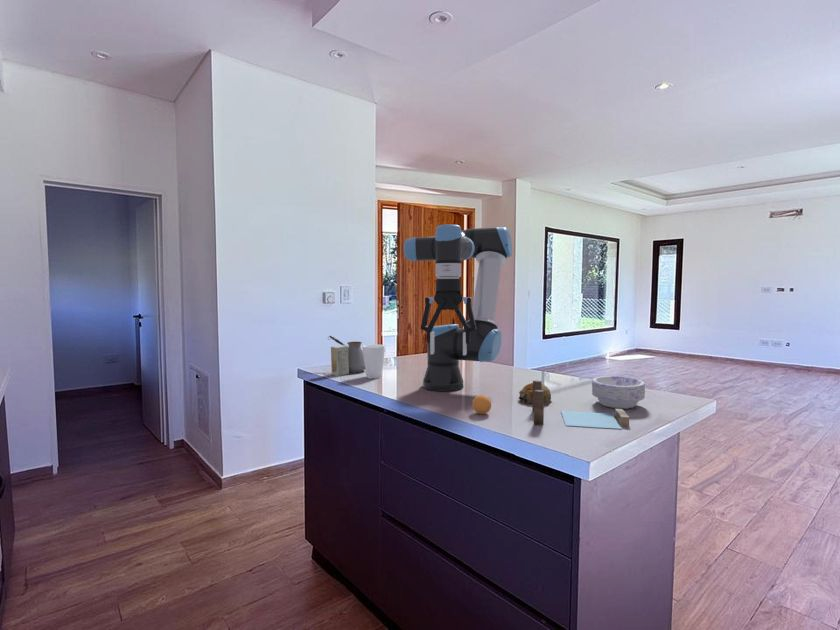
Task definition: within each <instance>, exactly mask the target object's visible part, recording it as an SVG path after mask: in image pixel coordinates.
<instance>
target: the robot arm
mask: <svg viewBox="0 0 840 630" xmlns="http://www.w3.org/2000/svg"><path fill="white" fill-rule="evenodd" d="M434 235H435V236H421V237H415V236H414V237H411V238H410V237H409V238H407V239H406V240H405V241H404V243H403V254H404V257H405V259H406V260H407V261H410V262H424V261H429V262H430V261H435V278H436V280H435V294H434V296H427V297H425V298H424V302H425V306H424V311H423V316H422V320H421V323H420V330H421V331H425V332H426V342H427V343H426V344H427V348H426V349H427V350H426V351H427V352H426V353H427V367H426V370H425V373H424V375H423V379H422V387H423V389H425V390H430V391H435V392H436V391H437V392H451V391H452V392H453V391H458V390H462V389H463V388H464V378H463V375H462V373H461V369H460V365H459V363H460V362H459V361H468V362H469V361H470V362H480V363H483V362H485V363H486V362H488V363H490V362H494V361H496V358H497V357H498V355H499V353H500V350H501V345H502V332H501V330H499V329H498V328H499V327H498V325H497V323H495V317H496V310H497V301H498V294H499V287H500V279H501V273H502V271H501V270H502V266H503V265H505V264H506V262H507V258H511V257H512V256H513V244H512V243H513V242H512V237H511V233H510V230H509V228H507V227H505V226H499V227H498V226H495V227H480V228H479V227H477V228H476V227H475V228H466V229H463V230H462V227H461V226H460V225H458V224H440V225H438V226H437V227H436V228H435V234H434ZM470 259H475V260H476V261H477V263H478V267H477V275H476V280H475V281H476V282H475V288H474V294H473V298H472V297H471V296H467V297H466V296H463V294H462V280H461V279H460V278H461V277H462V261H466V260H470ZM462 301H463V302H464V303H463V304H464V305H465V306H466V311H467V314H468V320H467V319H466V318H465V317H464V314H463V312H462V310H461V307H460V304H461V303H462ZM434 302H435V303H436V304H437V307H436V309H435V312H434V313H433V316H432V318H431V319H430V322H429V323H428V320H429V316H430V311H431V309H432V305H433V303H434ZM446 310H449V311H454V312H455V313H456V315H457V317H458V319H459V322H460V323H461V325H462V328H460V326H459V325H460V324H458V323H454V324H453V323H451V324H443V325H442V324H440V325H436V323H437V322H438V319H439V317H440V315H441V313H442V311H446Z"/></svg>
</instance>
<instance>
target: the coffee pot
mask: <svg viewBox="0 0 840 630" xmlns="http://www.w3.org/2000/svg"><path fill="white" fill-rule="evenodd" d="M329 338H330V339H329ZM327 340H330V341H331V340H333V341H334V342H336V343H337V344H339V345H340V346H341V345H344V346H348V363H349V374H350V373H351V374H352V373H353V374H354V373H357V372H358V373H362V371H363V372H364V371H366V370H365V363H364V356H363V352H362V347H361V346H362V344H363V342H362V341H348V342H347V345H346V344H344V343H343V342H341V341H340V340H339V339H337V338H335V337H334V336H332V335H329V336H328V337H327Z"/></svg>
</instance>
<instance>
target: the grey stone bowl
mask: <svg viewBox="0 0 840 630" xmlns="http://www.w3.org/2000/svg"><path fill="white" fill-rule="evenodd" d="M645 389H646V383H645V382H644V381H643V380H642V379H637V378H634V377H626V376H620V375H619V376H617V375H606V376H604V375H602V376H598V377H593V379H592V380H591V394H592V396H594V397H596V398H597V399H598V401H599V403H600V404H601V405H602V406H604V407H607V408H610V409H623V410H624V409H626V410H627V409H628V410H629V409H633V408H635V407H636V406H637V404H638V402H640V401H643V400H644V399H645V395H646V390H645Z"/></svg>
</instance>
